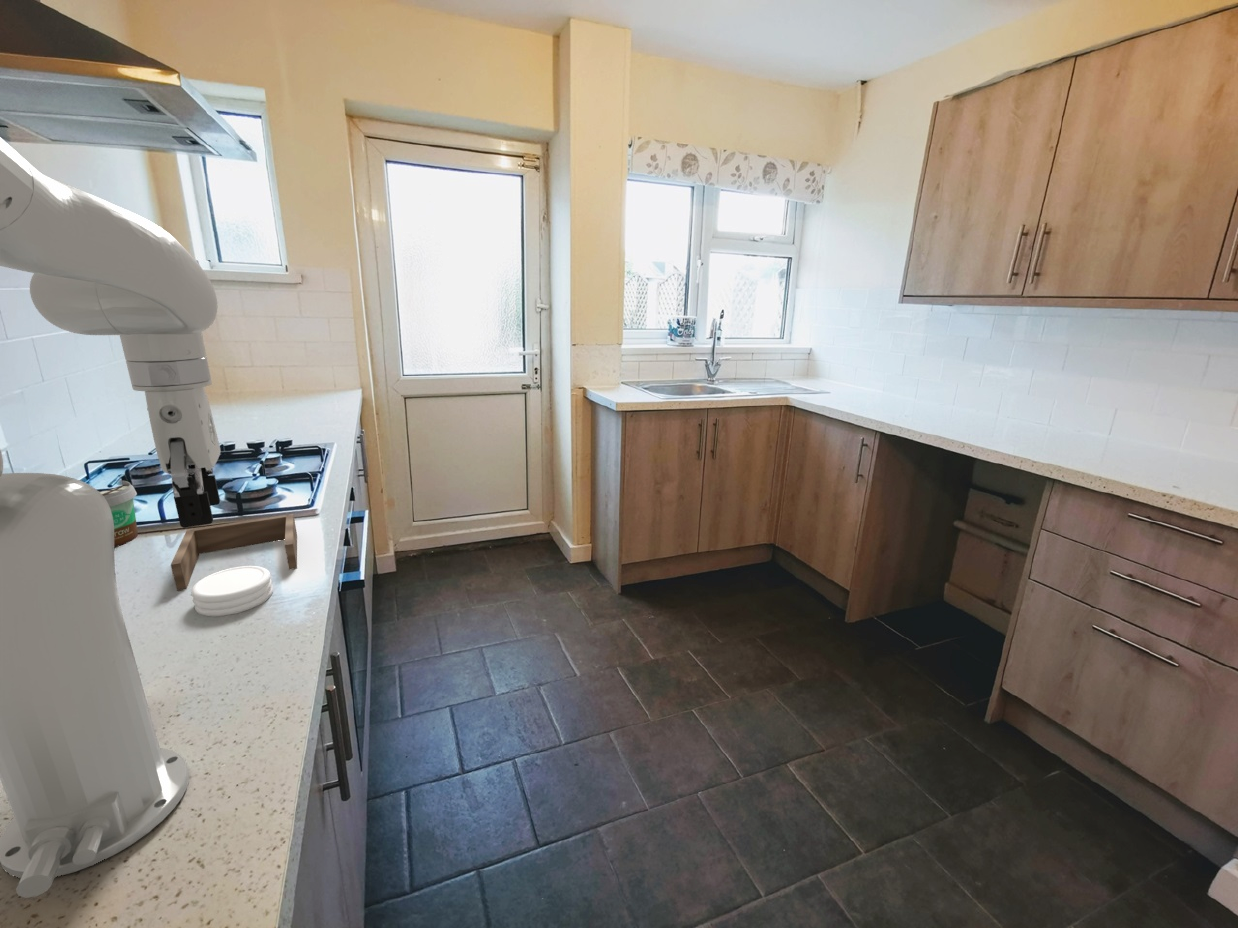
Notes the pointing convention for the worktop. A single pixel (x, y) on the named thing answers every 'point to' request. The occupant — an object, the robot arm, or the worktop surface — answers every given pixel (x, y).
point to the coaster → (232, 591)
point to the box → (232, 542)
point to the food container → (122, 512)
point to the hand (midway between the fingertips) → (201, 513)
